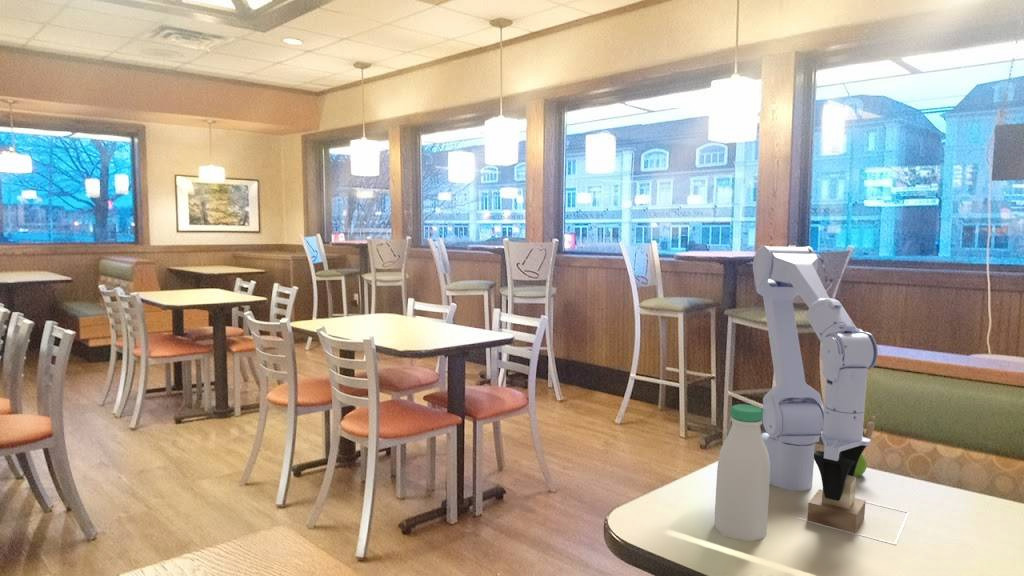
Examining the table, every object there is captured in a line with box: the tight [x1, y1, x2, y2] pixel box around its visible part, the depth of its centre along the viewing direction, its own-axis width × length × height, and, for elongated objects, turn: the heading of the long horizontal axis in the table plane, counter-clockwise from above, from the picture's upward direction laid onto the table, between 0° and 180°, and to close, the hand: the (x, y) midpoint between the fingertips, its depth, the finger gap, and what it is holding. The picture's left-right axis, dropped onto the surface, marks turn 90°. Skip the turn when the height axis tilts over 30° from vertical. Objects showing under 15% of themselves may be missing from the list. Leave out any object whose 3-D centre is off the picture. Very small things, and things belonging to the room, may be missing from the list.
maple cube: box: [822, 475, 857, 509], centre depth 110 cm, size 4×4×4 cm
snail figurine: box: [854, 415, 877, 478], centre depth 130 cm, size 5×6×12 cm
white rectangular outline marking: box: [796, 501, 911, 546], centre depth 113 cm, size 15×15×1 cm
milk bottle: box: [714, 403, 771, 542], centre depth 106 cm, size 8×8×20 cm
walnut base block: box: [806, 489, 867, 534], centre depth 111 cm, size 7×7×3 cm
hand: (838, 490), depth 110 cm, fingers open, 7 cm apart
